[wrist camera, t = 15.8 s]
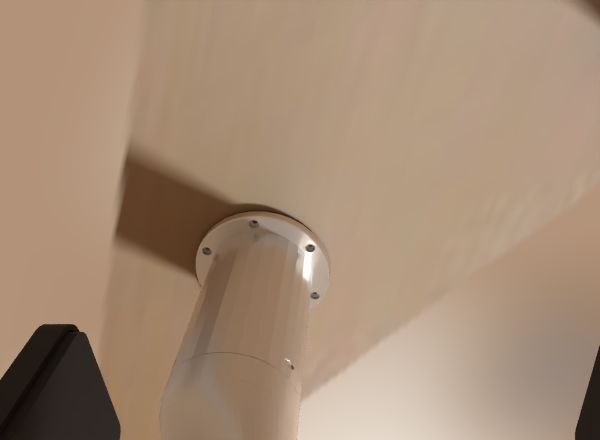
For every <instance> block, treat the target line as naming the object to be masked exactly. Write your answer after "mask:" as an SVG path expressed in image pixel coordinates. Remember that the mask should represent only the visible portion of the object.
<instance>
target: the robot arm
mask: <svg viewBox="0 0 600 440" xmlns="http://www.w3.org/2000/svg"><path fill="white" fill-rule="evenodd" d="M254 220H256V221H254ZM196 273H197V278H198V281H199V283H200V285H201V287H202V289H201V292H200V295H199V297H198V300H197V303H196V305H195V308H194V311H193V314H192V316H191V319H190V322H189V324H188V327H187V330H186V333H185V335H184V338H183V341H182V343H181V346H180V349H179V352H178V354H177V357H176V360H175V362H174V365H173V368H172V371H171V373H170V376H169V379H168V382H167V384H166V387H165V390H164V393H163V396H162V399H161V405H160V414H159V420H160V433H161V437H162V440H297V430H298V420H299V410H300V400H301V390H302V379H303V369H304V359H305V349H306V339H307V329H308V319H309V311H311V310H312V309H313V308H315V307H316V305H317V304H318V303H319V302H320V301H321V300H322V298H323V296H324V294H325V293H326V290H327V287H328V283H329V274H330V269H329V260H328V257H327V254H326V251H325V249H324V247H323V246H322V244H321V242H320V241H319V240H318V238H317V237H316V236H315V235H314V234H313V233H312V232H311V231H310V230H309V229H307V228H306V227H305V226H303V225H302V224H300V223H299V222H297V221H295V220H293V219H291V218H289V217H286V216H283V215H280V214H276V213H270V212H264V211H250V212H244V213H238V214H235V215H232V216H230V217H227V218H225V219H223V220H222V221H220V222H218V223H217V224H215V225H214V226H213V227H212V228H211V229H210V230H209V231H208V232H207V234H206V235H205V236H204V238H203V239H202V241H201V244H200V246H199V248H198V251H197V256H196ZM120 432H121V430H120V423H119V420H118V418H117V415H116V412H115V410H114V407H113V404H112V402H111V399H110V396H109V394H108V391H107V388H106V386H105V383H104V380H103V378H102V375H101V372H100V370H99V367H98V364H97V362H96V359H95V356H94V354H93V351H92V348H91V346H90V344H89V340H88V338H87V336H86V334H85V333H84V332H79V330H78V328H77V327H76V326H75V325H73V324H47V325H46V324H44V325H42V326H40V327H39V328H38V329H37V330H36V331H35V332H34V334H33V335H32V336H31V338H30V339H29V341H28V342H27V343H26V345H25V346H24V348H23V349H22V351H21V352H20V353H19V355H18V356H17V358H16V359H15V360H14V362H13V363H12V364H11V366H10V367H9V369H8V370H7V371H6V373H5V374H4V376H3V377H2V378H1V380H0V440H119V439H120ZM575 440H600V346H599V350H598V353H597V357H596V360H595V364H594V367H593V371H592V374H591V378H590V381H589V385H588V388H587V392H586V395H585V399H584V403H583V406H582V409H581V413H580V417H579V420H578V423H577V427H576V432H575Z"/></svg>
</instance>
